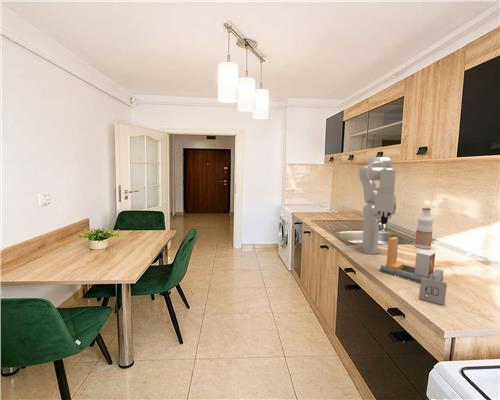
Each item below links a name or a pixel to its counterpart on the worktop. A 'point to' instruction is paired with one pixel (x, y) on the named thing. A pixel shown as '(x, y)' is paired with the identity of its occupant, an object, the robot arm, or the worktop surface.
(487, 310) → the worktop surface
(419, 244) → the fruit juice
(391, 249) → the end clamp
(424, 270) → the small box
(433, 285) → the electrical switch
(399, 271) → the din rail
